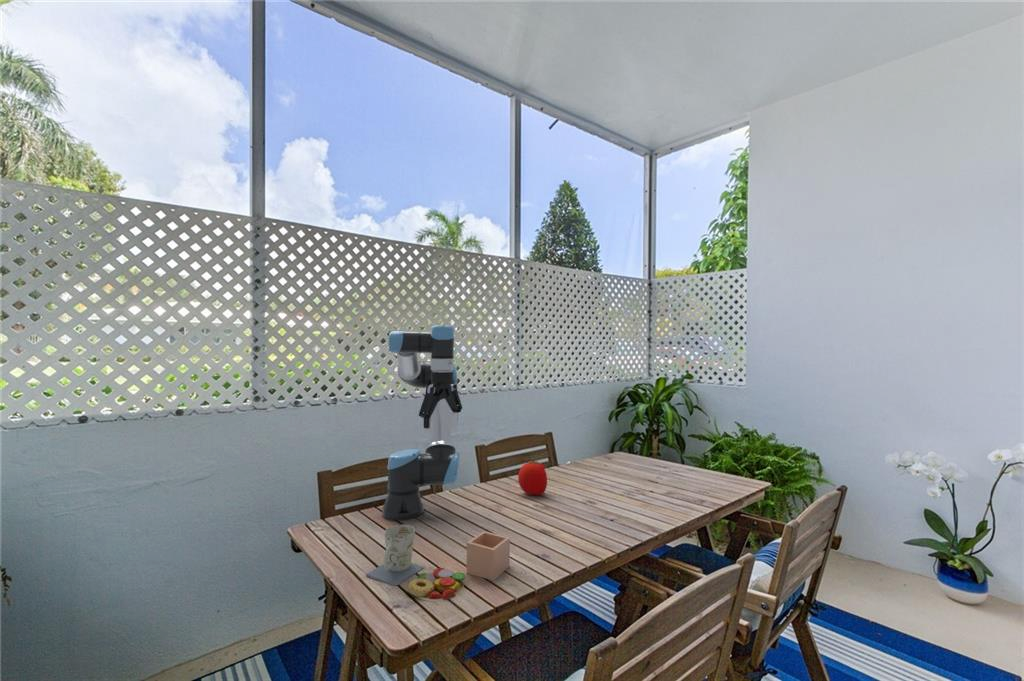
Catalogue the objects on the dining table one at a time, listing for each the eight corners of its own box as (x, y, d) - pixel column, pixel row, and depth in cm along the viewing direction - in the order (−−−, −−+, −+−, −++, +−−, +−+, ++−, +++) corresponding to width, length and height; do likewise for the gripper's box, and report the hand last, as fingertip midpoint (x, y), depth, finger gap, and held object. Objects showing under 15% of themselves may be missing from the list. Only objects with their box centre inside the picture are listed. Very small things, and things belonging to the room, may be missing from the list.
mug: (419, 560, 127) (419, 526, 127) (400, 584, 115) (400, 545, 115) (392, 557, 129) (392, 523, 129) (370, 580, 117) (371, 542, 117)
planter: (466, 575, 121) (466, 542, 121) (483, 562, 128) (484, 531, 128) (493, 584, 116) (493, 550, 117) (509, 570, 124) (509, 537, 124)
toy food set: (401, 599, 110) (401, 585, 110) (429, 573, 122) (429, 561, 122) (448, 611, 105) (448, 597, 105) (472, 583, 117) (473, 571, 118)
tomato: (552, 493, 188) (552, 460, 188) (539, 501, 178) (539, 466, 178) (526, 488, 194) (527, 455, 195) (512, 495, 185) (513, 461, 185)
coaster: (365, 576, 120) (365, 574, 120) (395, 559, 129) (395, 557, 129) (395, 587, 114) (396, 585, 114) (424, 569, 124) (424, 567, 124)
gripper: (426, 373, 136) (425, 442, 136) (472, 369, 158) (471, 429, 157) (408, 372, 140) (407, 439, 139) (455, 369, 161) (454, 427, 161)
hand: (441, 434), depth 148 cm, fingers open, 13 cm apart
